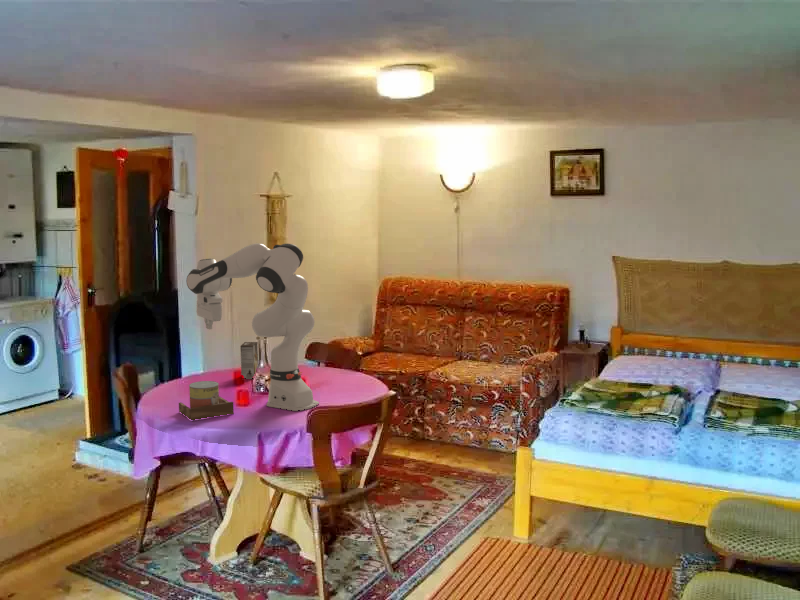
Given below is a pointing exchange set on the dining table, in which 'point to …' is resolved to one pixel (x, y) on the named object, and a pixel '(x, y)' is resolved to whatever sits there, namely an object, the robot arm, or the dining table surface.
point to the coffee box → (249, 359)
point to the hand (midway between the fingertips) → (209, 328)
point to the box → (207, 410)
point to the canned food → (204, 393)
